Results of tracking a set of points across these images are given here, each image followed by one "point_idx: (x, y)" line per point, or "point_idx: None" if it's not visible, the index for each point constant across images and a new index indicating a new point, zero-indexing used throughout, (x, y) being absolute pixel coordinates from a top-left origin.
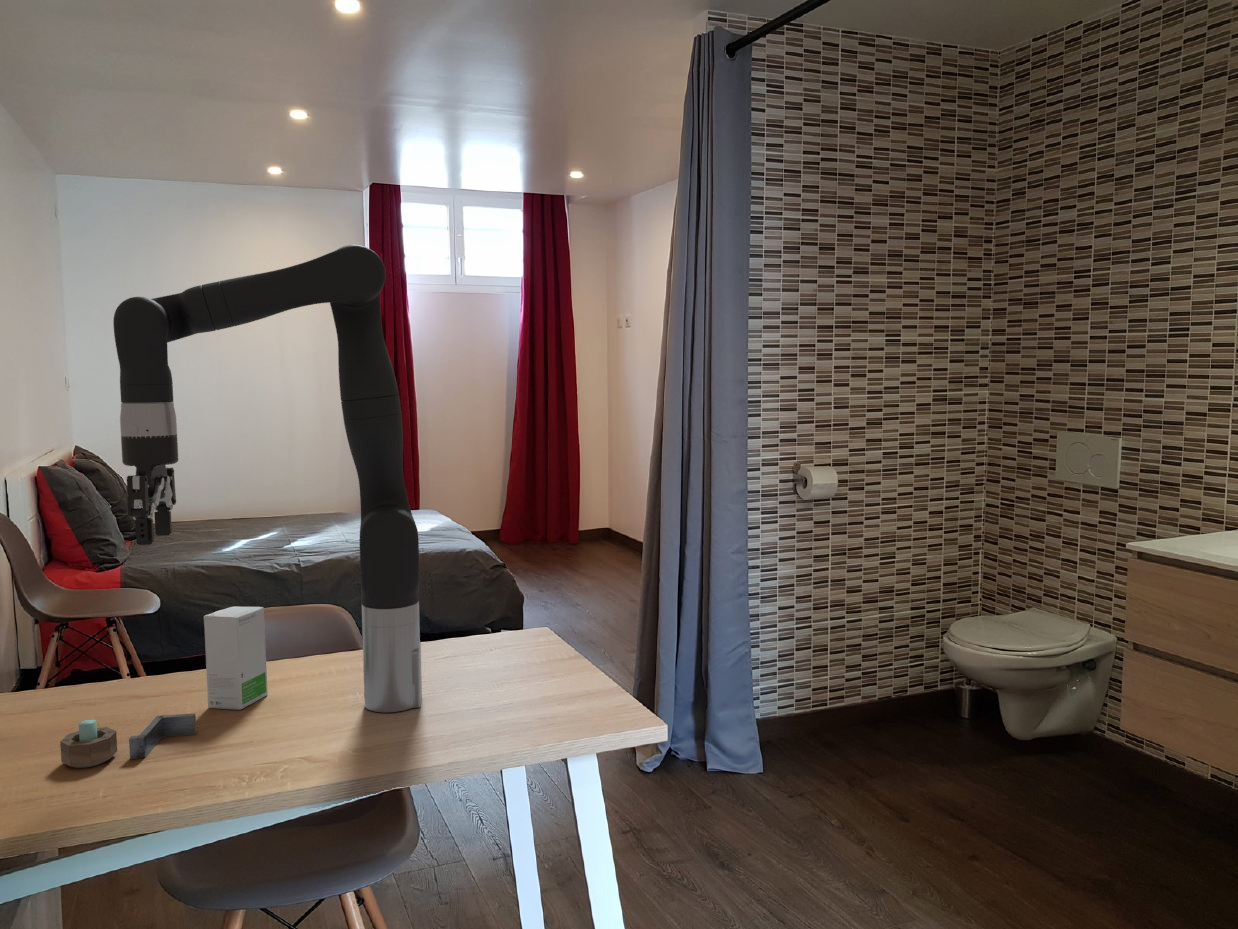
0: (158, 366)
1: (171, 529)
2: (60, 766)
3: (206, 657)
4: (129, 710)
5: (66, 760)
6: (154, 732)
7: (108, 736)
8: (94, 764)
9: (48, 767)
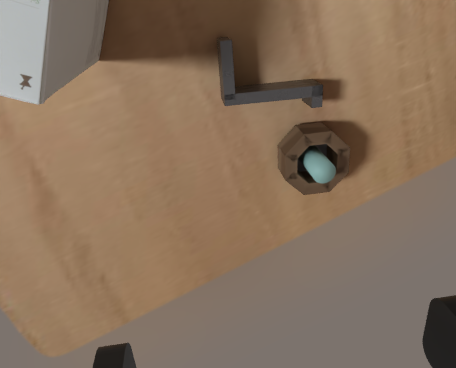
0: None
1: (98, 366)
2: None
3: (74, 77)
4: (110, 187)
5: None
6: (272, 87)
7: (324, 135)
8: None
9: None
